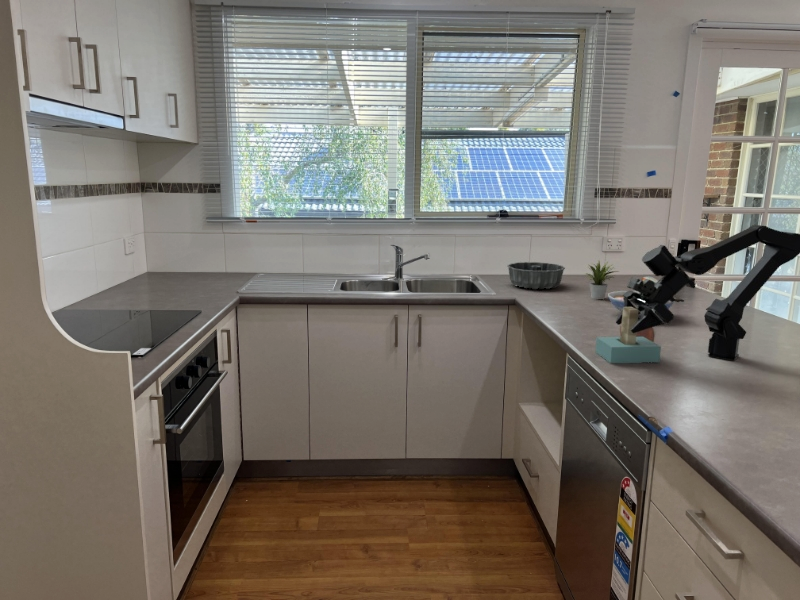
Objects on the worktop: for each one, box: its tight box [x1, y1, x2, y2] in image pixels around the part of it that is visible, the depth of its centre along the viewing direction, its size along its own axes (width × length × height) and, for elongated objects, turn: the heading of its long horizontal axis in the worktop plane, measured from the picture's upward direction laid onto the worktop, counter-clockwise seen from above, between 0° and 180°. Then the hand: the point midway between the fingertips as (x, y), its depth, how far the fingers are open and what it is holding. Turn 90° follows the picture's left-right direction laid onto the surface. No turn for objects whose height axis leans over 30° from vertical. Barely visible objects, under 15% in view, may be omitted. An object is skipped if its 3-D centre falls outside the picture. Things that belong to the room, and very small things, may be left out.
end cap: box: [595, 336, 662, 364], centre depth 156 cm, size 10×14×4 cm
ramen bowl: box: [607, 290, 685, 319], centre depth 205 cm, size 25×23×8 cm
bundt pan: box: [507, 261, 566, 290], centre depth 264 cm, size 26×26×10 cm
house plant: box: [585, 260, 620, 300], centre depth 234 cm, size 14×14×16 cm
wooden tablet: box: [619, 326, 654, 342], centre depth 180 cm, size 27×10×2 cm, turn 158°
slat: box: [619, 307, 639, 345], centre depth 155 cm, size 4×2×14 cm, turn 5°
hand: (624, 327), depth 155 cm, fingers open, 9 cm apart
